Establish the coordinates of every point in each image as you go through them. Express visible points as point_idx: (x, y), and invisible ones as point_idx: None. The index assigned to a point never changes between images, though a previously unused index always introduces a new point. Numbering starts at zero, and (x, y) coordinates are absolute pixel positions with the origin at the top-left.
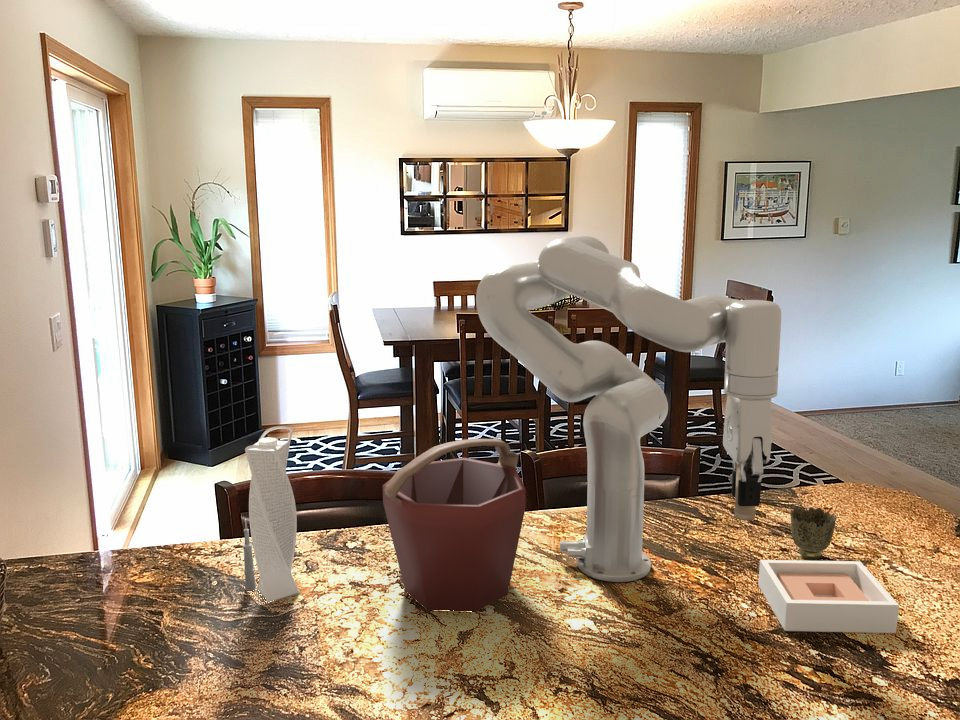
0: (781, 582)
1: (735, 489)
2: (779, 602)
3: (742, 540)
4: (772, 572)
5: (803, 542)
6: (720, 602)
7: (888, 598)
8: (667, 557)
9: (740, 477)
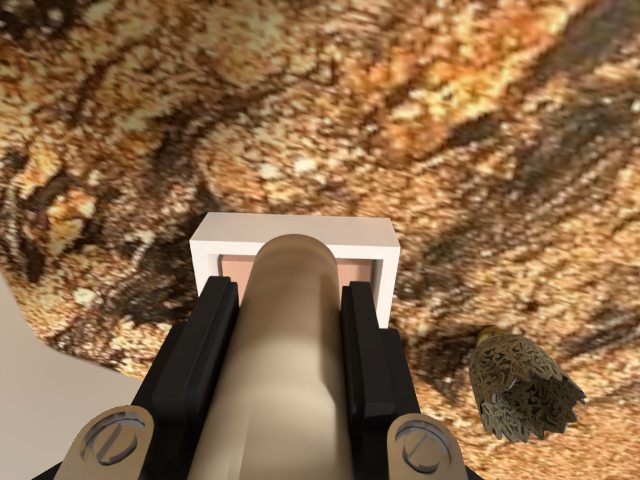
0: (341, 260)
1: (345, 318)
2: (241, 230)
3: (601, 245)
4: (333, 254)
5: (487, 349)
6: (316, 114)
7: None
8: (578, 25)
9: (221, 422)
